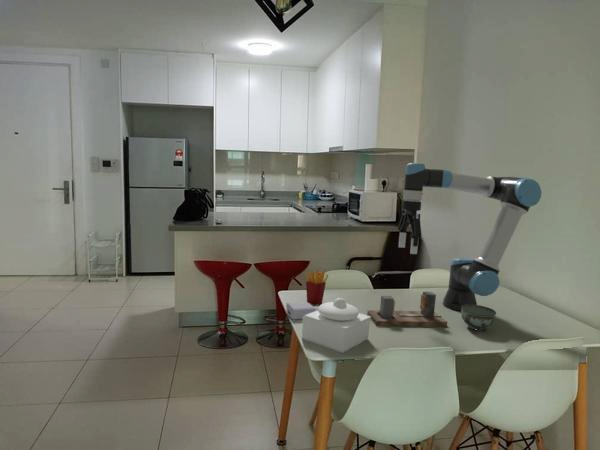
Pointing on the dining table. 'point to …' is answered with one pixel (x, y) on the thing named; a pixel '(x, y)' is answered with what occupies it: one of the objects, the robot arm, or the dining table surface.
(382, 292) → the dining table surface
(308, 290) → the french fries
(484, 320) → the bowl
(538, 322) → the dining table surface
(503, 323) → the dining table surface
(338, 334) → the white lidded jar
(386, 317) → the grey orange block
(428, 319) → the brown wooden stand
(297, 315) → the charger
